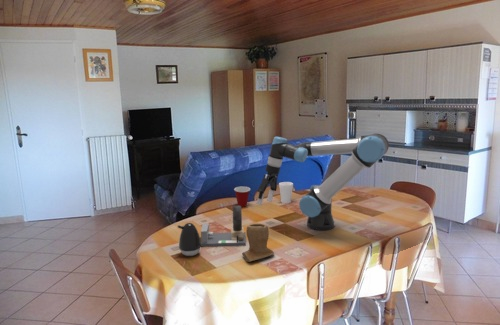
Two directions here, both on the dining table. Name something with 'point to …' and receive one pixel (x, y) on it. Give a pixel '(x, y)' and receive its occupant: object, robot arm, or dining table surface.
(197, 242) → the pump dispenser
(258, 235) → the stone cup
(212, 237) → the gauge base
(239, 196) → the plastic cup
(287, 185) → the foam cup
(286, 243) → the dining table surface
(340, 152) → the robot arm
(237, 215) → the gauge slider
